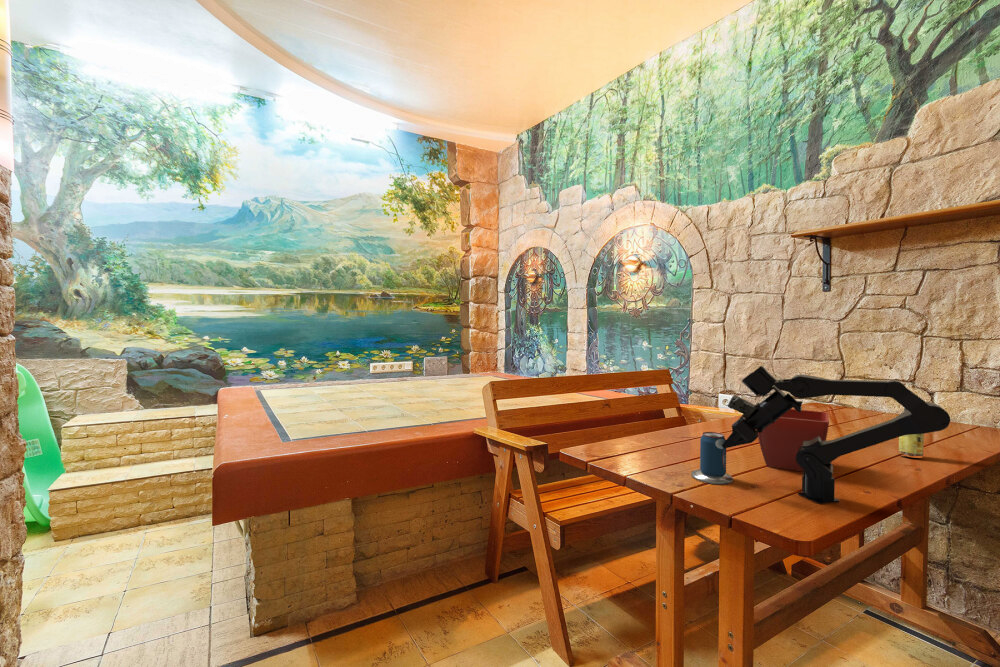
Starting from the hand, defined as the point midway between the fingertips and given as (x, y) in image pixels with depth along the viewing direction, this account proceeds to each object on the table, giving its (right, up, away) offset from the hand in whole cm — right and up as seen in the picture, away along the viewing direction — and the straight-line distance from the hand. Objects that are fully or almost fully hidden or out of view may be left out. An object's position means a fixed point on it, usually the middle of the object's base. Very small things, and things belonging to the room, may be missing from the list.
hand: (726, 443), depth 128 cm
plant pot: (+28, -11, +15) cm, 34 cm away
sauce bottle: (+75, -11, +24) cm, 80 cm away
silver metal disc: (-3, -11, +2) cm, 11 cm away
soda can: (-3, -10, +3) cm, 11 cm away
